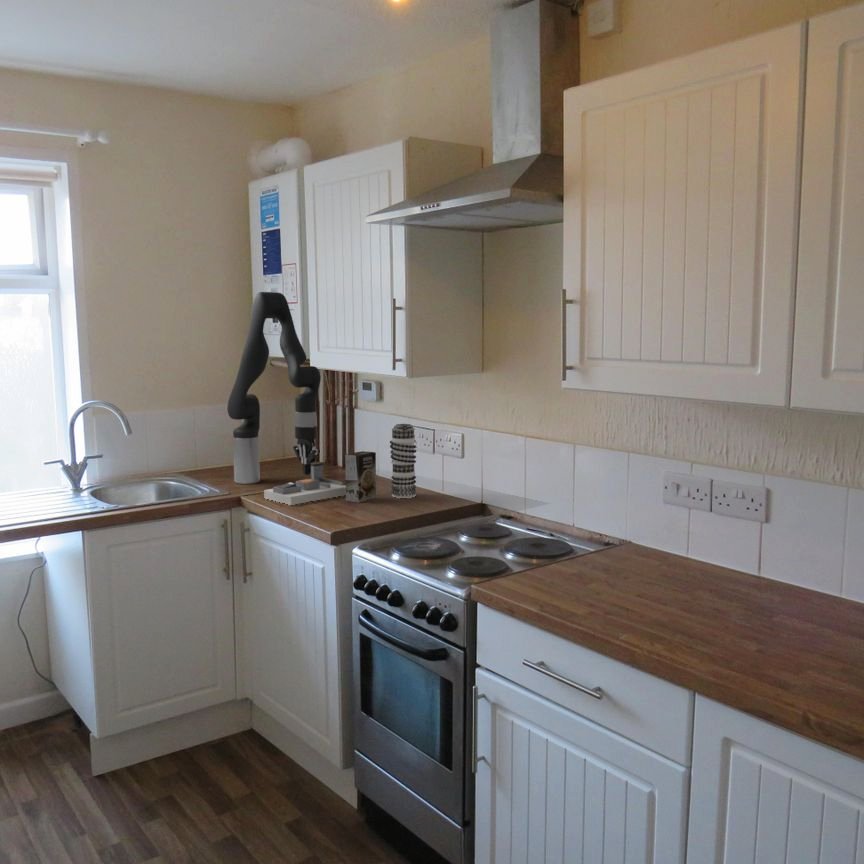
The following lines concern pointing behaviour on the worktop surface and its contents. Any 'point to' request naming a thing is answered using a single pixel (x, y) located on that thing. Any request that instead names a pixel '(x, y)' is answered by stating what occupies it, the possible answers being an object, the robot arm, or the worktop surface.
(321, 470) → the slide paddle
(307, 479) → the push button
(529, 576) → the worktop surface
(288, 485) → the rocker switch
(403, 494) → the decorative candle
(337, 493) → the control panel
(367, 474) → the coffee box
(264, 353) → the robot arm
